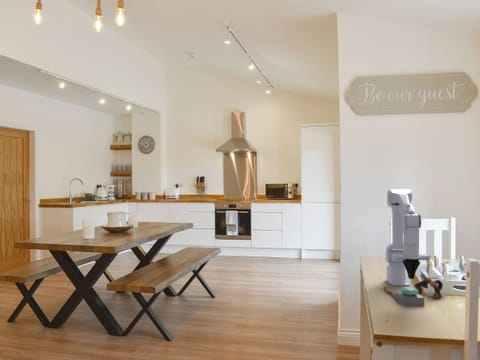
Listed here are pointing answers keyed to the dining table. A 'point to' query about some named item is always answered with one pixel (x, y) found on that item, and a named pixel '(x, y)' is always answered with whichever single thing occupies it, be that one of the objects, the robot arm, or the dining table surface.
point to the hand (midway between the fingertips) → (411, 278)
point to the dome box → (409, 299)
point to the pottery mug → (432, 283)
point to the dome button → (409, 291)
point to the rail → (389, 291)
